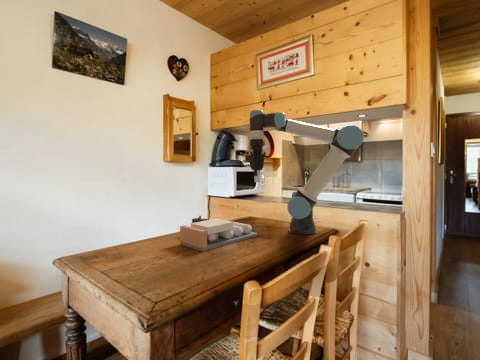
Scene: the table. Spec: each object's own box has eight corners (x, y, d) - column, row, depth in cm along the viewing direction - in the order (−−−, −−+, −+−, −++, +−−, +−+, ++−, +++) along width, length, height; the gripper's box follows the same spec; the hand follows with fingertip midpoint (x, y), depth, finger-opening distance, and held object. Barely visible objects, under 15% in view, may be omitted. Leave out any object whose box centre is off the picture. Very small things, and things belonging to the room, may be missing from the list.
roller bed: (258, 235, 148) (258, 219, 147) (202, 251, 121) (202, 231, 120) (235, 230, 160) (235, 215, 160) (180, 244, 133) (179, 226, 133)
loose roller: (219, 236, 131) (213, 230, 128) (214, 245, 129) (208, 240, 126) (203, 232, 140) (197, 227, 137) (198, 240, 138) (192, 235, 135)
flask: (208, 233, 154) (208, 215, 154) (207, 235, 151) (207, 216, 151) (192, 233, 155) (192, 215, 154) (191, 235, 152) (191, 216, 151)
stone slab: (233, 228, 137) (233, 221, 137) (208, 234, 125) (208, 227, 125) (215, 224, 147) (215, 218, 146) (191, 230, 135) (190, 223, 135)
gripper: (259, 140, 156) (259, 181, 157) (243, 139, 146) (244, 182, 147) (269, 139, 150) (269, 181, 151) (253, 137, 141) (254, 182, 142)
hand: (257, 181), depth 149 cm, fingers closed
